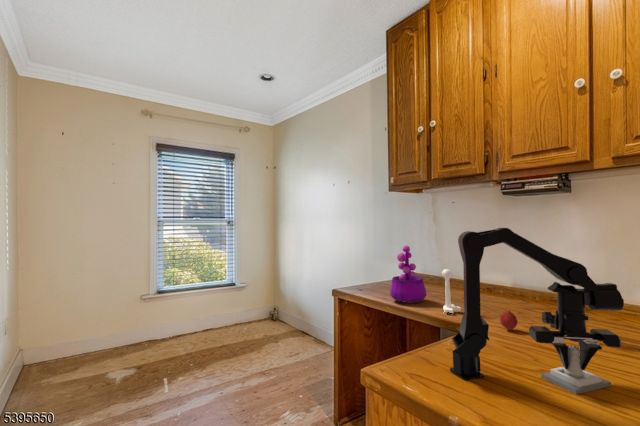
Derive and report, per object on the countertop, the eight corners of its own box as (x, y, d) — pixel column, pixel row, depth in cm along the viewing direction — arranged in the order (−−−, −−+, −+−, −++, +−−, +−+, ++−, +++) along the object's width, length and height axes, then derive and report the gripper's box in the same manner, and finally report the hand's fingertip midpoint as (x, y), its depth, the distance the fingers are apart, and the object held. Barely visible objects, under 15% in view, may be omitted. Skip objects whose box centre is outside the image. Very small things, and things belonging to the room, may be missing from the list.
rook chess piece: (559, 375, 87) (558, 345, 87) (570, 372, 88) (569, 342, 88) (577, 383, 82) (576, 351, 83) (589, 379, 84) (588, 348, 84)
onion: (503, 326, 130) (502, 306, 130) (519, 330, 125) (518, 309, 126) (498, 330, 125) (497, 309, 126) (515, 333, 121) (514, 312, 122)
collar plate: (575, 394, 79) (575, 385, 79) (541, 377, 88) (541, 369, 88) (611, 385, 83) (610, 377, 83) (574, 370, 91) (574, 362, 91)
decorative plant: (408, 308, 161) (406, 247, 162) (383, 300, 177) (381, 245, 178) (434, 302, 171) (432, 245, 172) (408, 296, 187) (406, 243, 188)
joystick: (444, 308, 159) (442, 267, 160) (461, 309, 156) (459, 267, 156) (442, 314, 149) (440, 270, 150) (460, 315, 146) (458, 271, 146)
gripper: (595, 302, 91) (597, 359, 91) (520, 300, 96) (522, 354, 95) (621, 313, 81) (624, 377, 80) (535, 310, 85) (538, 371, 85)
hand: (574, 369), depth 85 cm, fingers closed on rook chess piece, 3 cm apart
